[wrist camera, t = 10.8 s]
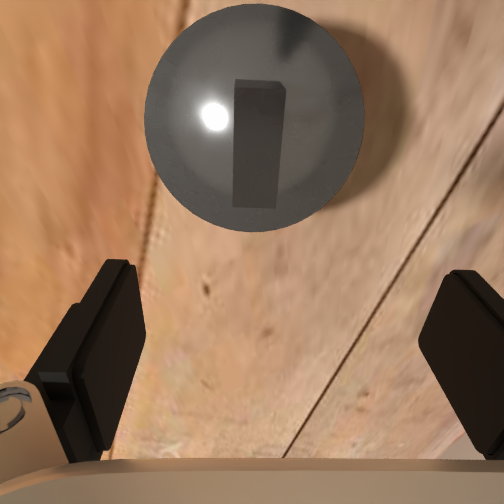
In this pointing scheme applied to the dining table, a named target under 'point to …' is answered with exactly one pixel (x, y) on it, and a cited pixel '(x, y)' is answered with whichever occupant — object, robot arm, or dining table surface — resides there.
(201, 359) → the dining table surface
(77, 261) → the dining table surface
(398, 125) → the dining table surface
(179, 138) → the lid
